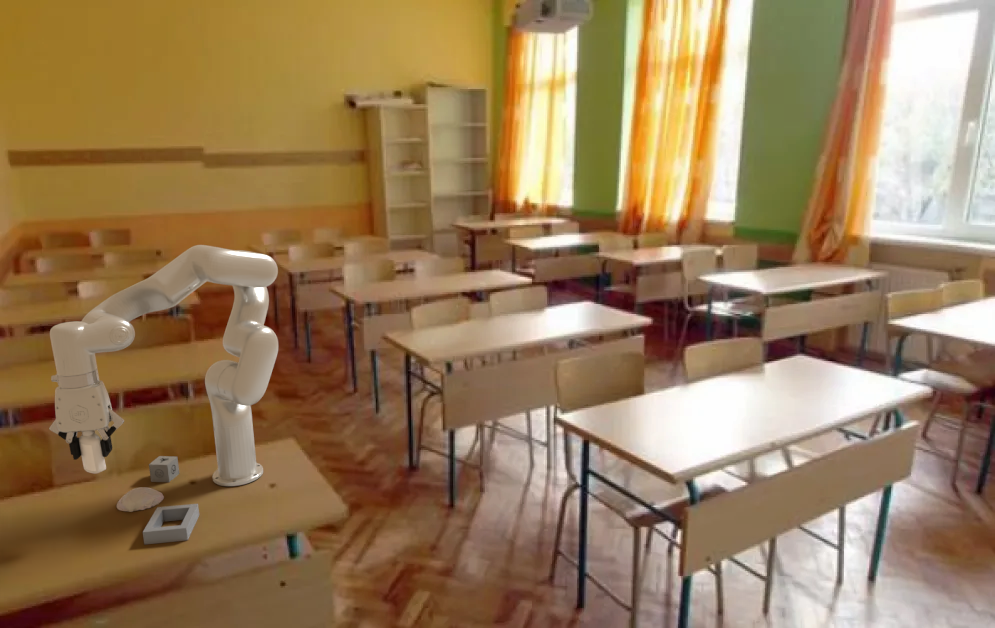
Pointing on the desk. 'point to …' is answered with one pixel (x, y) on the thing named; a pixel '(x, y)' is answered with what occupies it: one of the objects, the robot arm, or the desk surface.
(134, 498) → the seashell
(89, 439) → the eye dropper bottle
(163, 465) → the dice cube
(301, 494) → the desk surface
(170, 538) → the bottle holder
